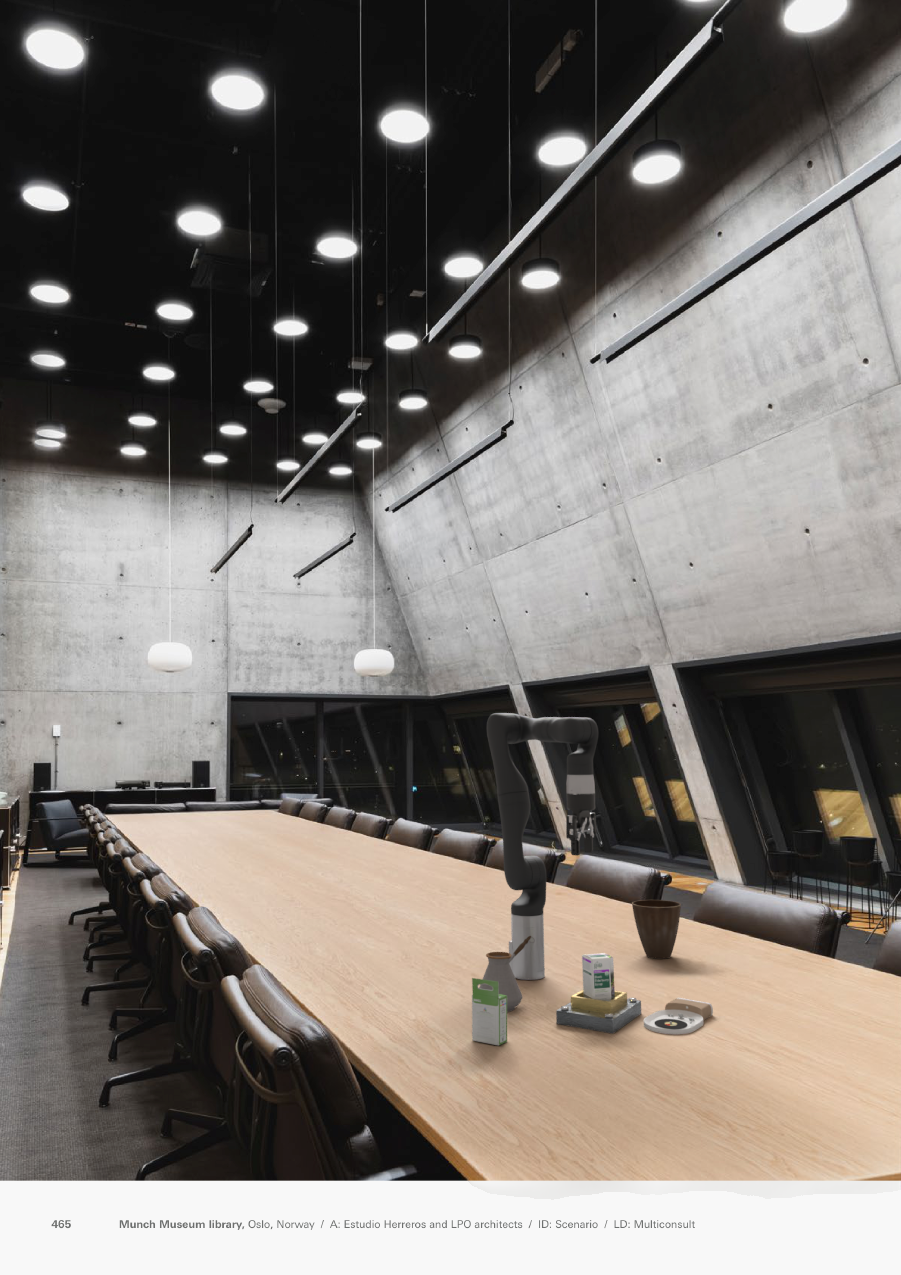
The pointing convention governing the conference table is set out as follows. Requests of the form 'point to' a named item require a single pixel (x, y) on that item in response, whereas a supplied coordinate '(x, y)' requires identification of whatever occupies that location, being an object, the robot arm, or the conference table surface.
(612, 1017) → the square socket fixture
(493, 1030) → the ink box
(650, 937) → the plant pot
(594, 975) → the syrup box
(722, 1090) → the conference table surface
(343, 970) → the conference table surface
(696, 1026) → the record player
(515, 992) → the coffee pot
